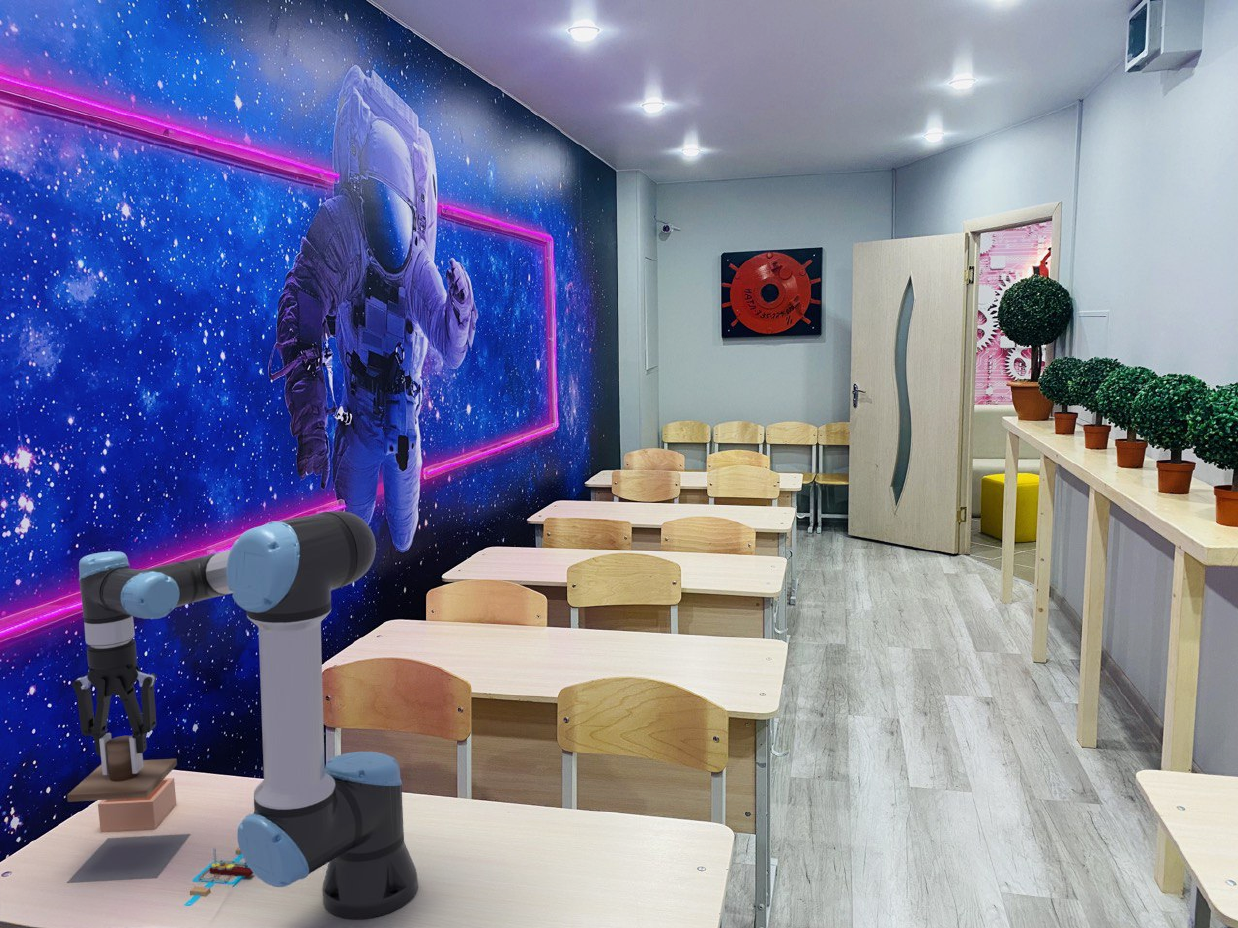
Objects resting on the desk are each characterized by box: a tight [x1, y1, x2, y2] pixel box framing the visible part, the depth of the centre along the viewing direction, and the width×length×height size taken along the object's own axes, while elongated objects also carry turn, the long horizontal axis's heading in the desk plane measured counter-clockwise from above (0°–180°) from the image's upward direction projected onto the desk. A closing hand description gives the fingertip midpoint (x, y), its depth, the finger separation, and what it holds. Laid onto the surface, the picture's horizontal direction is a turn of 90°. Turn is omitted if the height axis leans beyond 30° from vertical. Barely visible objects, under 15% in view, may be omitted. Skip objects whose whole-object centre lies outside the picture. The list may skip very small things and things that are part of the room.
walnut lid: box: [66, 735, 178, 803], centre depth 170 cm, size 13×13×8 cm
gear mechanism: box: [183, 846, 254, 907], centre depth 166 cm, size 20×5×9 cm
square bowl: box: [97, 777, 177, 833], centre depth 186 cm, size 10×10×6 cm
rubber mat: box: [66, 833, 191, 884], centre depth 172 cm, size 15×15×1 cm
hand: (123, 770), depth 170 cm, fingers closed on walnut lid, 4 cm apart
